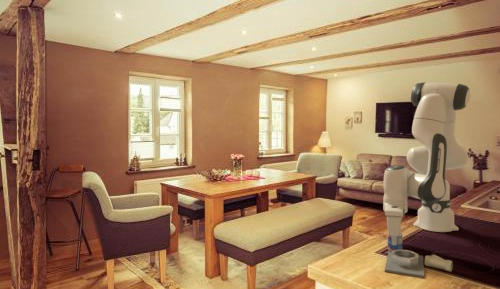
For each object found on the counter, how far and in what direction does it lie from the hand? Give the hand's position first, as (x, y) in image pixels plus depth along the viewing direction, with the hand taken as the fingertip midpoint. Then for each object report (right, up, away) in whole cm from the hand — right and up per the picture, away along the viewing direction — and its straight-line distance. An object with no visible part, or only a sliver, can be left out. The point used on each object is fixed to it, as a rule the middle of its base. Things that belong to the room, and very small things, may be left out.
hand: (394, 240), depth 137 cm
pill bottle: (0, -4, 0) cm, 4 cm away
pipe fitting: (+9, -5, -16) cm, 19 cm away
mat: (-2, -5, -14) cm, 15 cm away
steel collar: (-2, -5, -14) cm, 15 cm away
